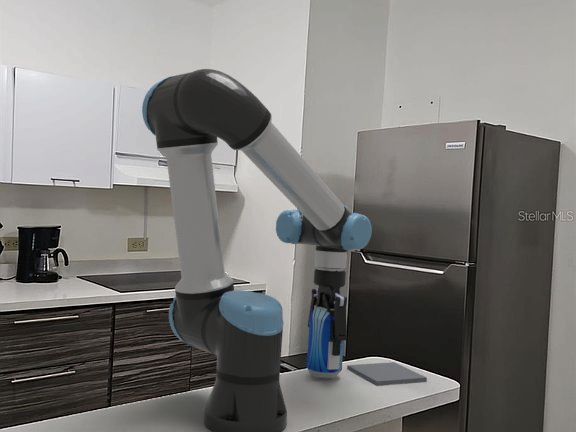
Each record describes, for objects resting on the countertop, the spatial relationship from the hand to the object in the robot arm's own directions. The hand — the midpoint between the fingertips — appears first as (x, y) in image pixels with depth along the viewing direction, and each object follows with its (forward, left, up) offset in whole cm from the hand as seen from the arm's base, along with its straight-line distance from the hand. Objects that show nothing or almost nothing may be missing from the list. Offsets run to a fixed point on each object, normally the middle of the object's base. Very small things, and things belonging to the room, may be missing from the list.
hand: (324, 363), depth 140 cm
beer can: (0, 0, -3) cm, 3 cm away
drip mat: (+16, -2, -3) cm, 17 cm away
